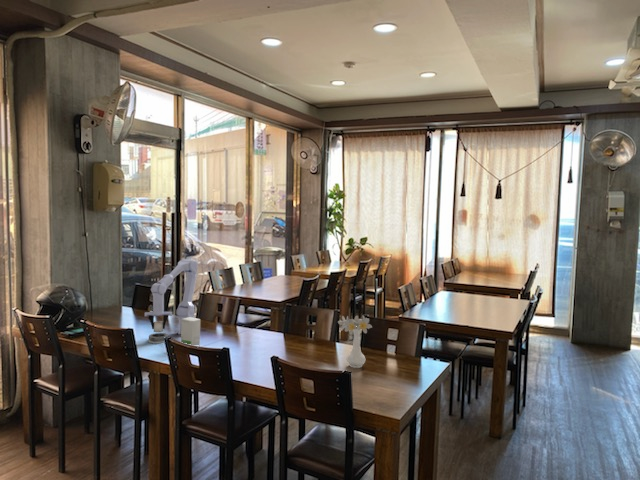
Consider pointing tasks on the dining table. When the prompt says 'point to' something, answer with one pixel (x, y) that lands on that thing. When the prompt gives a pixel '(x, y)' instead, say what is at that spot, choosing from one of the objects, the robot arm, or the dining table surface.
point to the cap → (158, 326)
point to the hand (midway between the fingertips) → (158, 328)
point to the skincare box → (190, 331)
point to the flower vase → (355, 339)
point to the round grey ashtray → (157, 338)
